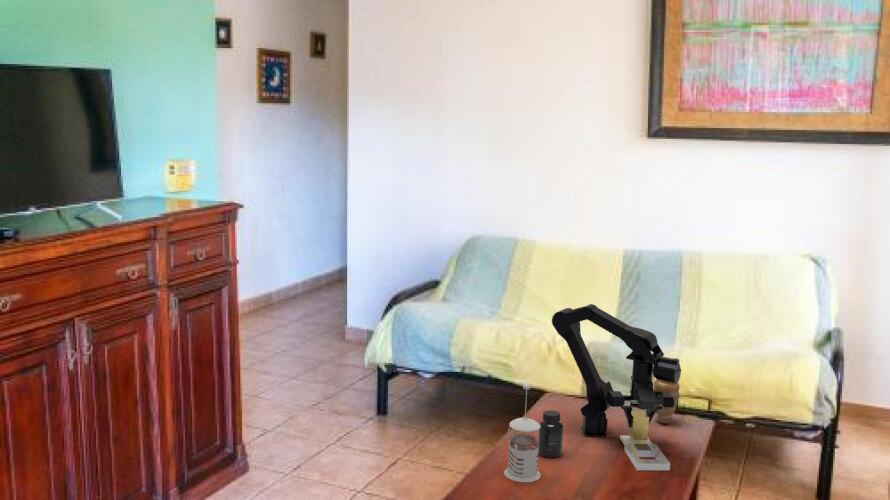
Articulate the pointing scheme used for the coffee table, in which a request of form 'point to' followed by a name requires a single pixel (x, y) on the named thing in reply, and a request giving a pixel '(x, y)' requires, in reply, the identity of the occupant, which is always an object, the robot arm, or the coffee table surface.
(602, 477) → the coffee table surface
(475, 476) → the coffee table surface
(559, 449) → the supplement bottle
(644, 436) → the brass metal cube
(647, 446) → the white flat frame
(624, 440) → the coaster
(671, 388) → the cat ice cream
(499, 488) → the coffee table surface
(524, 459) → the french press
